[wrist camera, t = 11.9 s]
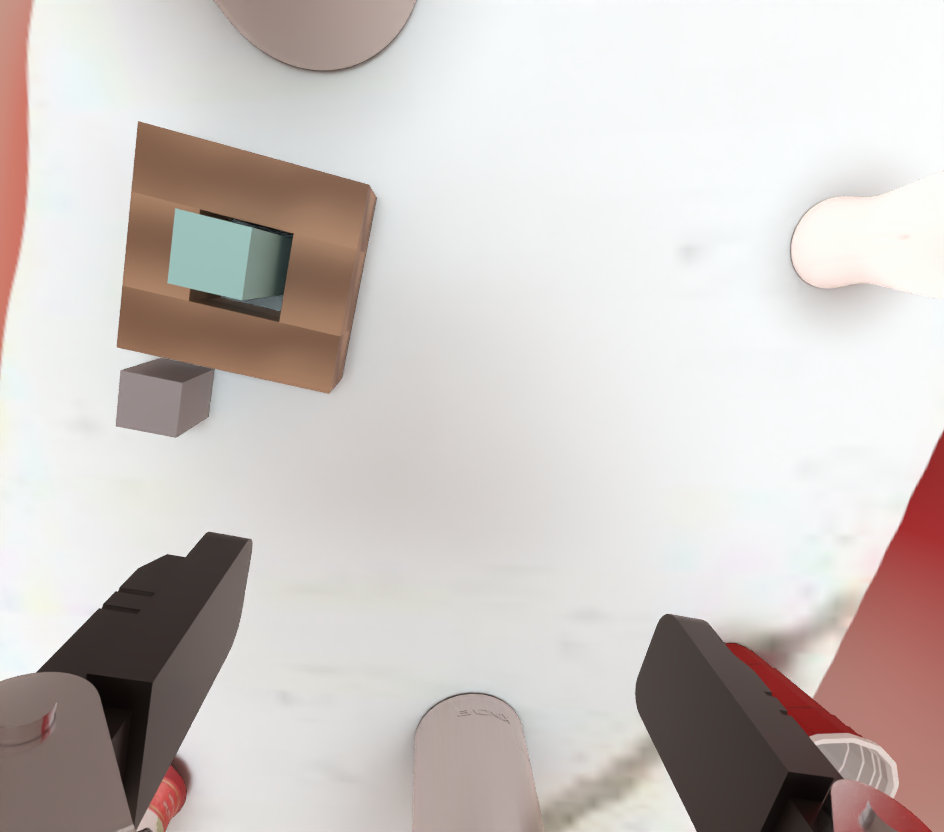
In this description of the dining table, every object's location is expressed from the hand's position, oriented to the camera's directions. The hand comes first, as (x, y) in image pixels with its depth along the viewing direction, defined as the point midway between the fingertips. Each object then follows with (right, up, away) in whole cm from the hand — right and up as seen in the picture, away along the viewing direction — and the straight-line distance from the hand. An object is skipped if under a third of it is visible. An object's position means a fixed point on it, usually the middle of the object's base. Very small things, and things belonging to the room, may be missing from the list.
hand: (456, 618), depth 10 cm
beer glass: (+25, +16, +27) cm, 41 cm away
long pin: (-13, +14, +24) cm, 31 cm away
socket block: (-13, +13, +24) cm, 31 cm away
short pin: (-19, +6, +26) cm, 33 cm away
